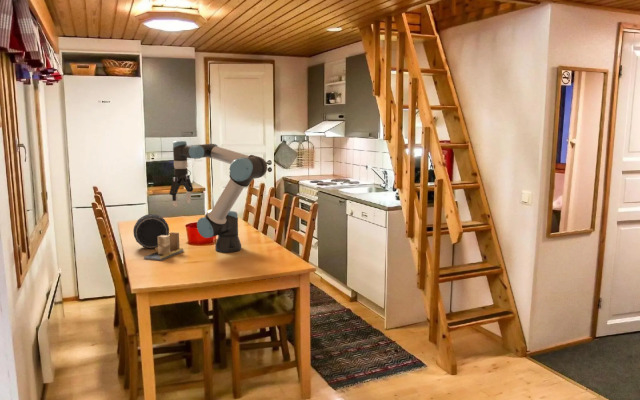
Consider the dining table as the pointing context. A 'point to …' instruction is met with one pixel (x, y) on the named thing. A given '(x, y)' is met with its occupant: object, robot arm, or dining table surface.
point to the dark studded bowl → (150, 230)
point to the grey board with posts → (173, 249)
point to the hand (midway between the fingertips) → (182, 204)
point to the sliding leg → (163, 244)
